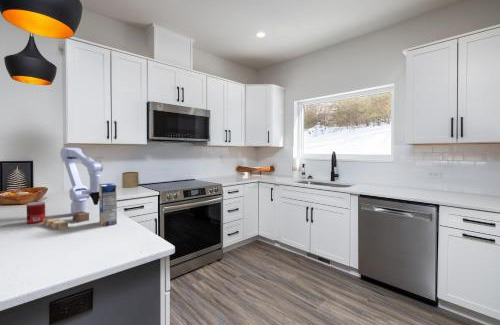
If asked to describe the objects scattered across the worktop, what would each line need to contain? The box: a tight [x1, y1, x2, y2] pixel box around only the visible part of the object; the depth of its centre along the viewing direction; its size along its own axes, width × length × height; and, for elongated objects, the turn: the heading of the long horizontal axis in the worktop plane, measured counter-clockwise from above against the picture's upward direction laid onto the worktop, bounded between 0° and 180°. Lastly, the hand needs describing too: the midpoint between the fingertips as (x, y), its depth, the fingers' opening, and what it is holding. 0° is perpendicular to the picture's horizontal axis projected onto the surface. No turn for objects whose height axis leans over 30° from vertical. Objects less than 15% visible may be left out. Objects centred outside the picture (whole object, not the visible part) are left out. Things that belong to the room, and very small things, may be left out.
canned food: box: [26, 201, 46, 225], centre depth 140 cm, size 8×8×11 cm
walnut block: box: [72, 211, 90, 223], centre depth 144 cm, size 8×5×4 cm, turn 60°
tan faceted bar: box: [42, 217, 69, 231], centre depth 133 cm, size 18×4×3 cm, turn 60°
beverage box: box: [98, 182, 118, 227], centre depth 139 cm, size 7×11×22 cm, turn 39°
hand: (95, 204), depth 152 cm, fingers closed
